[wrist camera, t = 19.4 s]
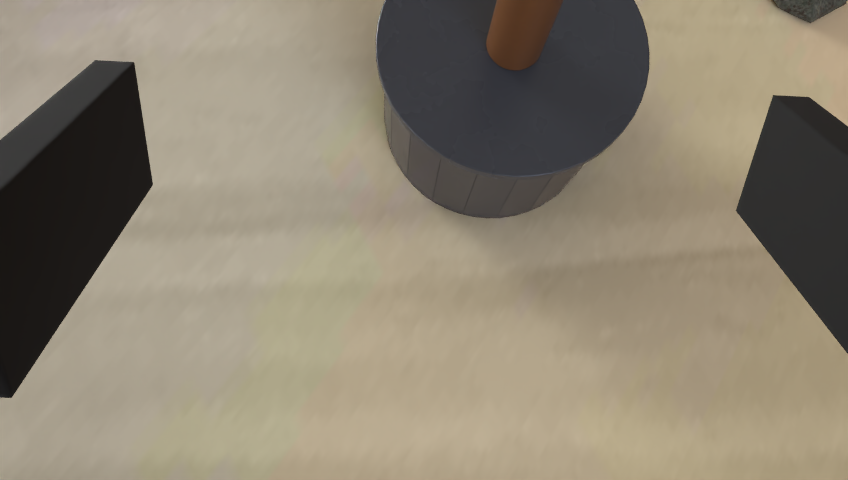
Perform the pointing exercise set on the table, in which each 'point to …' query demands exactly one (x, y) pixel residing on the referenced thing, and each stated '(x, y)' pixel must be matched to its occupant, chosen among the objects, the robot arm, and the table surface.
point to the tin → (466, 179)
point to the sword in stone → (809, 7)
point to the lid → (513, 79)
